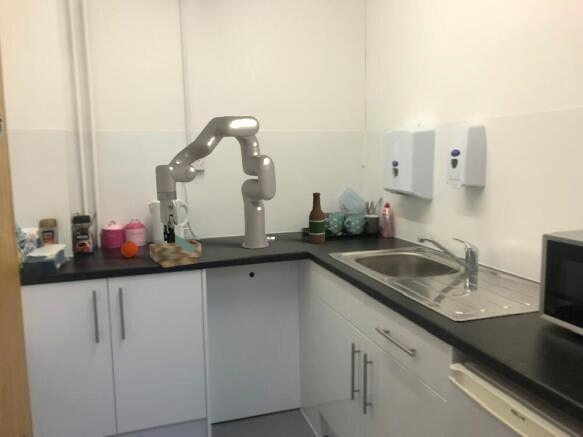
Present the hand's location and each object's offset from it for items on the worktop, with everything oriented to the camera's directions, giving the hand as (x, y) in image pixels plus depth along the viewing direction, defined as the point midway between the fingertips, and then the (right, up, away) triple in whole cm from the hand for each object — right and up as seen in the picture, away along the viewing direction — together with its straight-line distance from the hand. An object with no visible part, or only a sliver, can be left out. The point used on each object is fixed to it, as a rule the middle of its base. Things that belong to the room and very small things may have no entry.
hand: (169, 241), depth 186 cm
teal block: (+3, -2, +2) cm, 4 cm away
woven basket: (-1, -7, +14) cm, 16 cm away
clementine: (-21, -8, +14) cm, 26 cm away
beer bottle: (+61, -3, +39) cm, 73 cm away
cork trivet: (+3, -9, +3) cm, 10 cm away
